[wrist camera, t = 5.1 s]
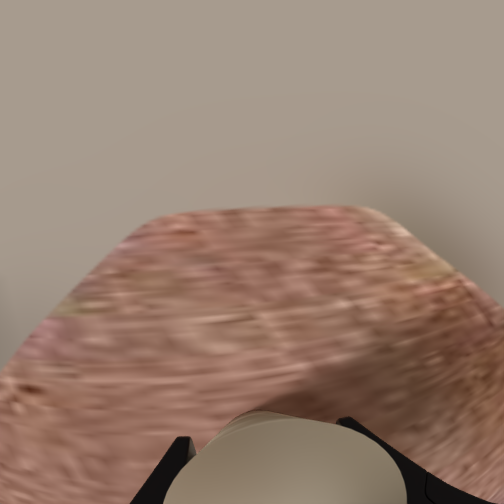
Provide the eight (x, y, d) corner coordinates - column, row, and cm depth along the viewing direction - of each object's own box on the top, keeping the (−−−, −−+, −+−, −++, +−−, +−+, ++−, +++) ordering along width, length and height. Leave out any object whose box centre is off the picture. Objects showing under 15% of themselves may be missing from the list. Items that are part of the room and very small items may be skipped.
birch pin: (301, 407, 14) (404, 401, 4) (304, 483, 12) (398, 580, 2) (215, 411, 14) (154, 420, 4) (218, 487, 12) (174, 604, 2)
